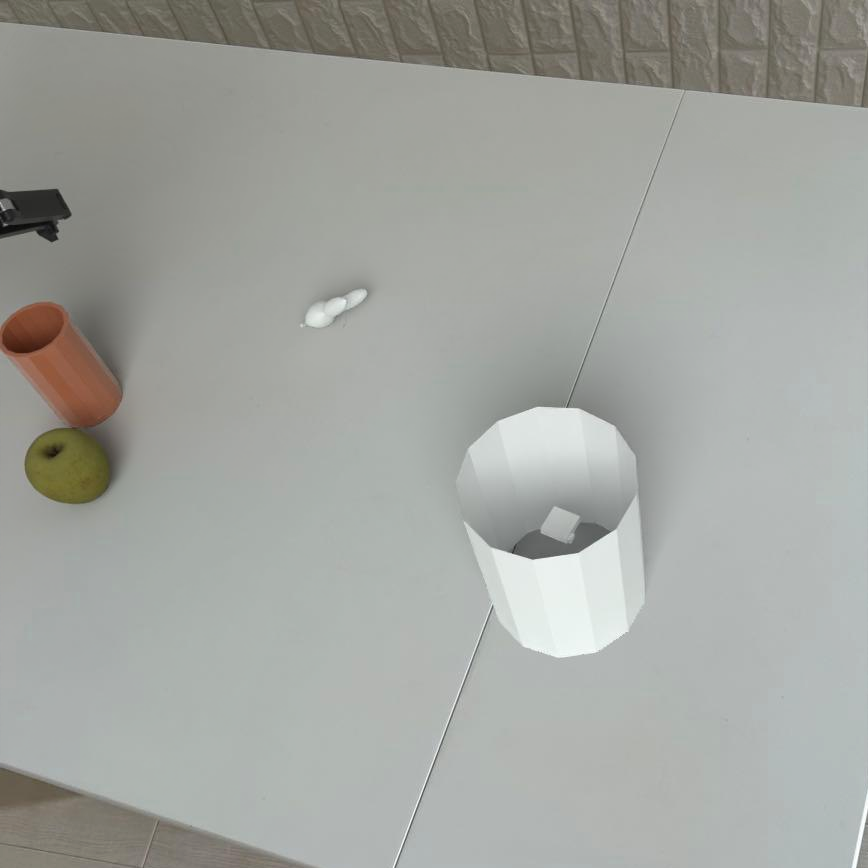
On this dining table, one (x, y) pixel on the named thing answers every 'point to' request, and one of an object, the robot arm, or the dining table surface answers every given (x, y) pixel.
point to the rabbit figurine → (332, 309)
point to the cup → (60, 364)
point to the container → (556, 527)
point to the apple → (67, 466)
